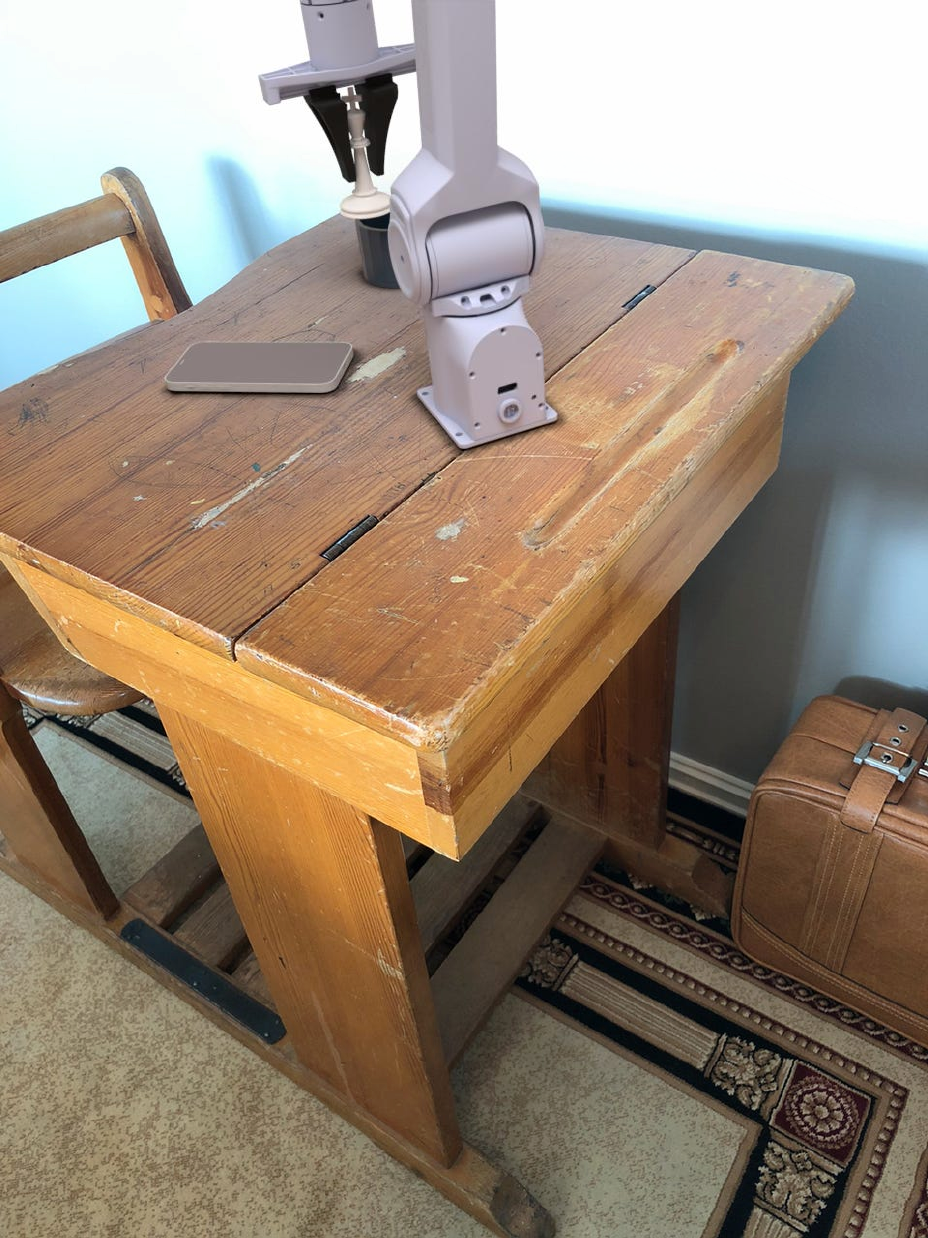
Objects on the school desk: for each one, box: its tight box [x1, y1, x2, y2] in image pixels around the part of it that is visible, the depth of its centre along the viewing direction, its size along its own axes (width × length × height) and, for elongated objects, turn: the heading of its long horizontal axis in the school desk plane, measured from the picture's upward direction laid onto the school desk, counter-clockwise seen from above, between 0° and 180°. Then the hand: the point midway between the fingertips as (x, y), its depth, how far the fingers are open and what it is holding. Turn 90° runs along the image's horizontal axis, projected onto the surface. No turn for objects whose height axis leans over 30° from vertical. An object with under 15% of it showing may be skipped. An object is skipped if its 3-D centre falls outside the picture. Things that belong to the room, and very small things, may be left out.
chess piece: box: [339, 86, 391, 220], centre depth 85 cm, size 5×5×10 cm
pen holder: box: [354, 212, 401, 289], centre depth 94 cm, size 8×8×6 cm
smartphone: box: [164, 341, 355, 394], centre depth 82 cm, size 7×1×15 cm
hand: (363, 175), depth 86 cm, fingers closed on chess piece
